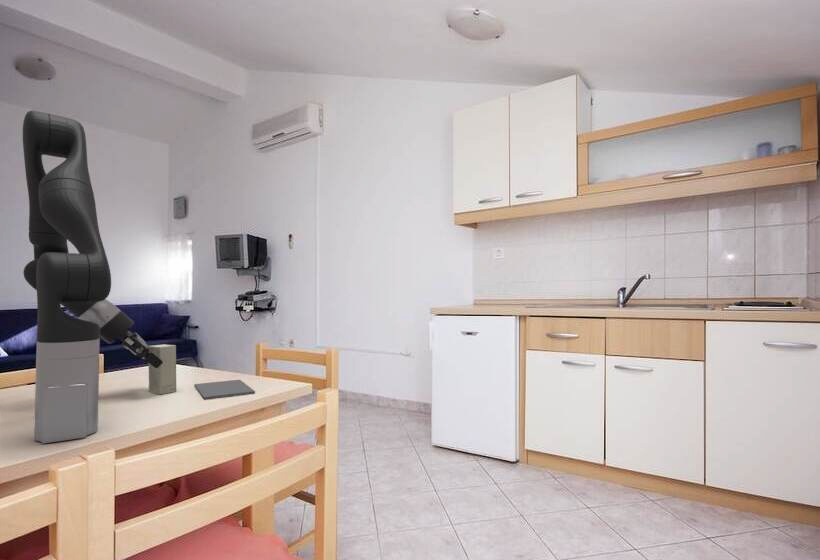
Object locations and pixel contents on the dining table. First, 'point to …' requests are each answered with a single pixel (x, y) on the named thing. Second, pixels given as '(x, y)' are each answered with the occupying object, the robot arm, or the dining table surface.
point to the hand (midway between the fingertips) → (158, 362)
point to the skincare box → (163, 370)
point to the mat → (223, 389)
